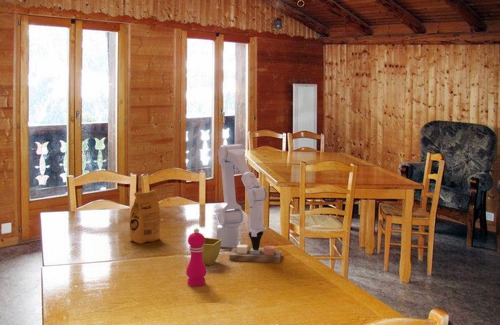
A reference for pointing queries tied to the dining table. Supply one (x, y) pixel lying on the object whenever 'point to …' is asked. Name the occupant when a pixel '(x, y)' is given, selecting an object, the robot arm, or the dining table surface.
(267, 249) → the brick key
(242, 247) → the ivory key
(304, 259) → the dining table surface
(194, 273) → the pepper mill
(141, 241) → the coffee package
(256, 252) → the slate key
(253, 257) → the walnut bezel
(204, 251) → the flower pot
